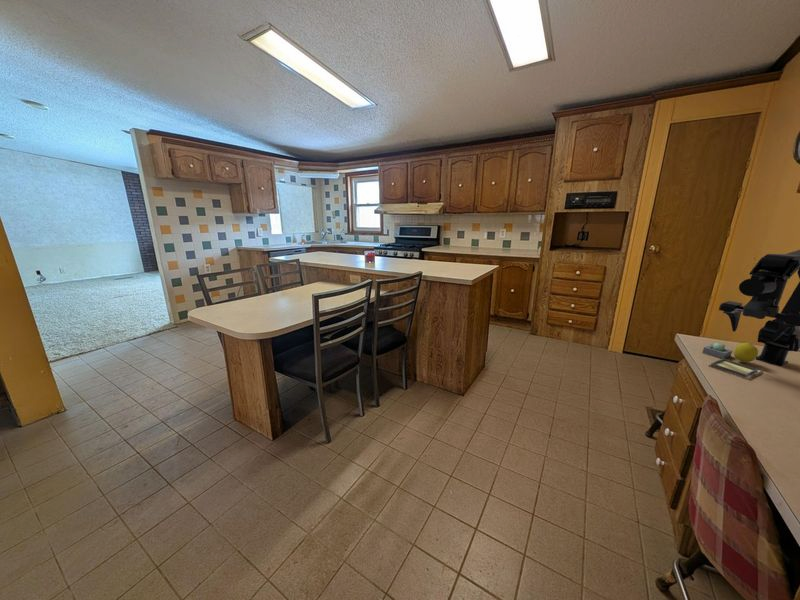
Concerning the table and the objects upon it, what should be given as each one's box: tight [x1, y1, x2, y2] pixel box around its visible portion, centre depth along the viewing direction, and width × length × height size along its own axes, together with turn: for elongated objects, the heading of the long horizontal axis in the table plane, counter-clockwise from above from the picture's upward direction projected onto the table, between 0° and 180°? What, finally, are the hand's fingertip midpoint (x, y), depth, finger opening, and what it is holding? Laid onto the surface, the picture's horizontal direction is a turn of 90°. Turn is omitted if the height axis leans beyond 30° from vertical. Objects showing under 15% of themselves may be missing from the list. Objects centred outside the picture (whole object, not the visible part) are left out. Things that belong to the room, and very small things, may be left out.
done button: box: [712, 342, 726, 352], centre depth 112 cm, size 3×3×3 cm
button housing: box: [702, 344, 733, 359], centre depth 113 cm, size 6×6×2 cm
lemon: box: [733, 342, 759, 364], centre depth 106 cm, size 6×6×8 cm
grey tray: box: [708, 358, 764, 381], centre depth 102 cm, size 11×10×1 cm
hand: (753, 335), depth 100 cm, fingers open, 9 cm apart
